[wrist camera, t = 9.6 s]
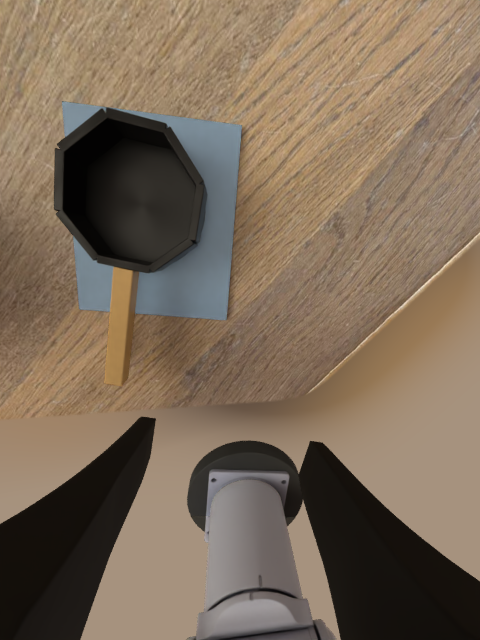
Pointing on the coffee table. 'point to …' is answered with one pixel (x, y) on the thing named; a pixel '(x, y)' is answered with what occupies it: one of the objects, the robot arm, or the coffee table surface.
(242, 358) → the coffee table surface
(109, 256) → the pan
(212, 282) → the napkin
